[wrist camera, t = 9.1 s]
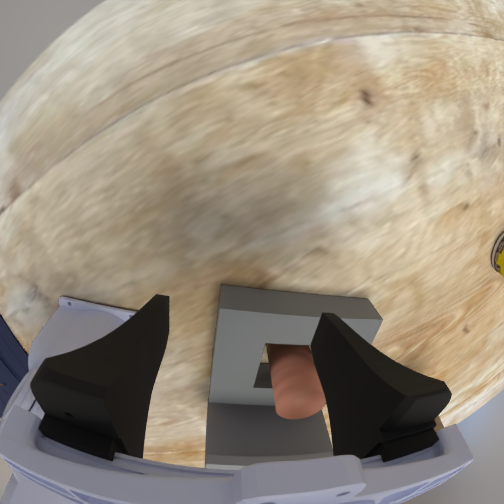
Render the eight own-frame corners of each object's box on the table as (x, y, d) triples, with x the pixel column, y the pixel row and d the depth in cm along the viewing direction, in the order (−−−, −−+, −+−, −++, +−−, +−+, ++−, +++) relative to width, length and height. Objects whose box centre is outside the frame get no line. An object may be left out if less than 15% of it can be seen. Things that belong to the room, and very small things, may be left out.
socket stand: (207, 402, 30) (204, 480, 20) (221, 284, 23) (215, 387, 13) (316, 404, 31) (335, 475, 21) (368, 298, 25) (423, 379, 15)
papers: (-55, 335, 24) (-63, 344, 21) (2, 293, 25) (-11, 306, 22) (13, 418, 34) (9, 429, 31) (96, 410, 35) (92, 426, 31)
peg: (263, 356, 27) (272, 420, 20) (269, 326, 25) (281, 392, 18) (301, 356, 27) (317, 417, 20) (310, 327, 26) (332, 390, 18)
